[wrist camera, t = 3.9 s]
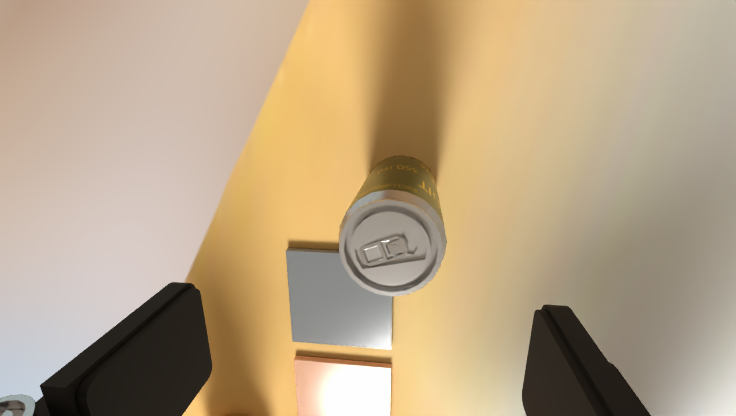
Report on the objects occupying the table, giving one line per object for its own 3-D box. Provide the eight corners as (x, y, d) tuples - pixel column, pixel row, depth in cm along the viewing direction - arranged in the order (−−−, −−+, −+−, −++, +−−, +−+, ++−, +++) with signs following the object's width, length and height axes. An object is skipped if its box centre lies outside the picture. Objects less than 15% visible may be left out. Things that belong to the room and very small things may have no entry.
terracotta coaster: (391, 363, 34) (390, 368, 33) (389, 439, 36) (389, 445, 36) (295, 355, 35) (294, 359, 34) (301, 429, 37) (299, 434, 37)
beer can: (381, 229, 30) (358, 312, 19) (356, 168, 29) (316, 216, 17) (445, 208, 29) (463, 283, 17) (422, 143, 27) (426, 178, 16)
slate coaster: (393, 253, 30) (392, 256, 30) (391, 345, 33) (391, 349, 32) (288, 247, 31) (285, 250, 31) (294, 337, 34) (292, 341, 34)
